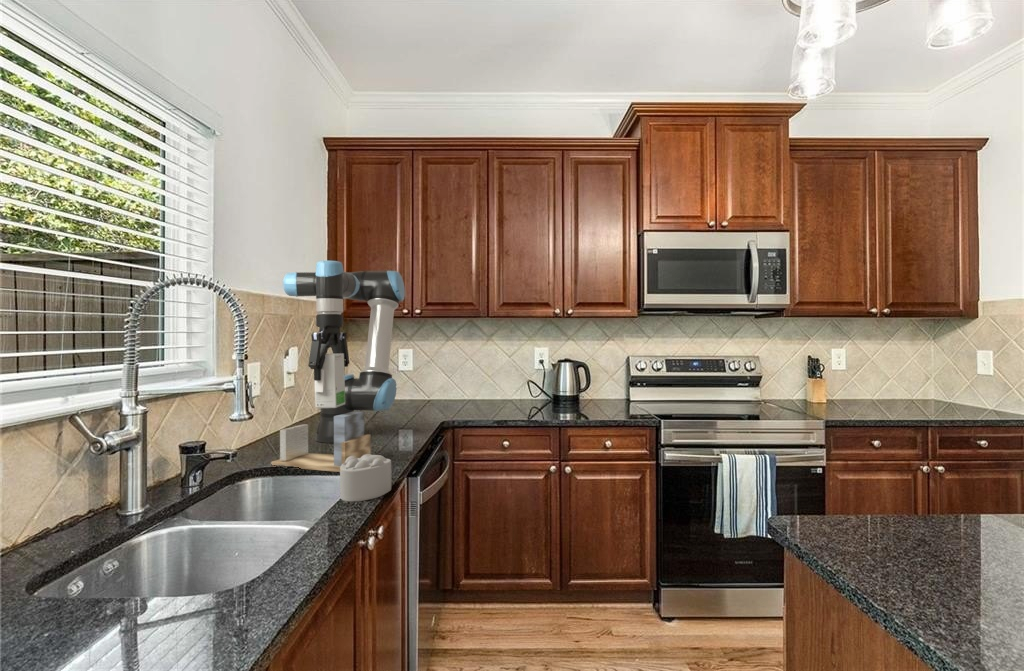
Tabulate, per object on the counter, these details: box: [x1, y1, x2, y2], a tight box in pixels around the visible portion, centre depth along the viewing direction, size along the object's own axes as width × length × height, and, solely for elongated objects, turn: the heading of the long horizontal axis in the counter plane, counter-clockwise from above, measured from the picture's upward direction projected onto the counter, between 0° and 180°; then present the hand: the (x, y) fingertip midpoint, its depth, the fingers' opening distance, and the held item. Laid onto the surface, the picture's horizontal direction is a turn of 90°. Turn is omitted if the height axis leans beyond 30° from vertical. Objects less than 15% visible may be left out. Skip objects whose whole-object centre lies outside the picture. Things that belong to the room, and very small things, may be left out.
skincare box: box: [314, 353, 345, 409], centre depth 155 cm, size 8×7×16 cm
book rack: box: [270, 410, 372, 473], centre depth 156 cm, size 13×25×15 cm, turn 73°
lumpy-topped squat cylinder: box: [339, 454, 392, 502], centre depth 128 cm, size 10×13×9 cm
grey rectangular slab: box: [279, 423, 309, 461], centre depth 159 cm, size 10×2×9 cm, turn 164°
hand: (329, 390), depth 155 cm, fingers closed on skincare box, 9 cm apart
